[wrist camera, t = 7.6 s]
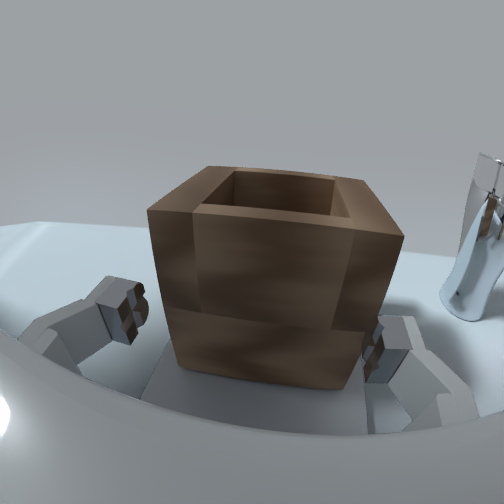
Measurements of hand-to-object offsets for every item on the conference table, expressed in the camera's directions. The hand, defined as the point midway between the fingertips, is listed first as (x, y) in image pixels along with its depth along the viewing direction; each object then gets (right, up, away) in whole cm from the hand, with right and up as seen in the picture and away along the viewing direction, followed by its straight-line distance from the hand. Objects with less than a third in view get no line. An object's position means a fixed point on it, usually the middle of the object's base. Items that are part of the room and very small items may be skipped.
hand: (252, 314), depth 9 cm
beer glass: (+22, -3, +13) cm, 26 cm away
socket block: (+1, -3, +9) cm, 10 cm away
